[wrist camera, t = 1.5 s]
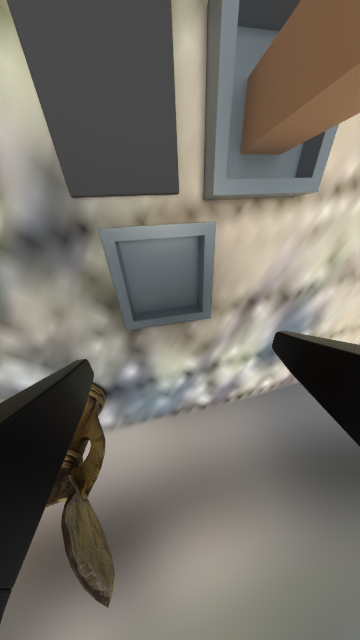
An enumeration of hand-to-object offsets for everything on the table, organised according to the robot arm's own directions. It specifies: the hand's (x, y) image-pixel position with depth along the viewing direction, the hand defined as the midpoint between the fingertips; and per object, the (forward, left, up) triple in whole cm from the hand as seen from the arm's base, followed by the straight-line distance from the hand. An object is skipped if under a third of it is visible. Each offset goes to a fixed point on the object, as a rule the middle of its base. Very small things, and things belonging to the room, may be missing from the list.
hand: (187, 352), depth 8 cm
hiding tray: (-3, +15, -13) cm, 20 cm away
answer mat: (-11, +6, -13) cm, 18 cm away
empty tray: (0, 0, -13) cm, 13 cm away
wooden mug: (+4, -22, -13) cm, 25 cm away
